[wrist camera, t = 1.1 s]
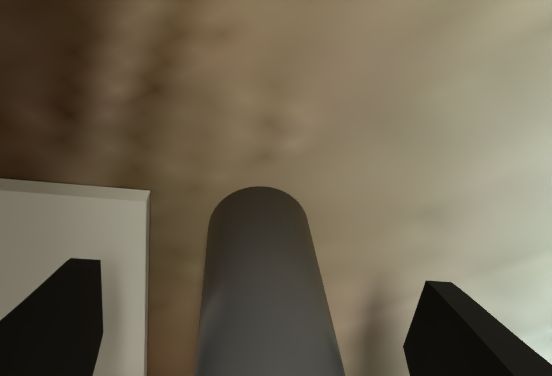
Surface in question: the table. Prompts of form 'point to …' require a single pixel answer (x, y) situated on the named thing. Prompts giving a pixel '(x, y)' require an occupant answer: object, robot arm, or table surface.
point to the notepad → (82, 256)
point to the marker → (263, 292)
